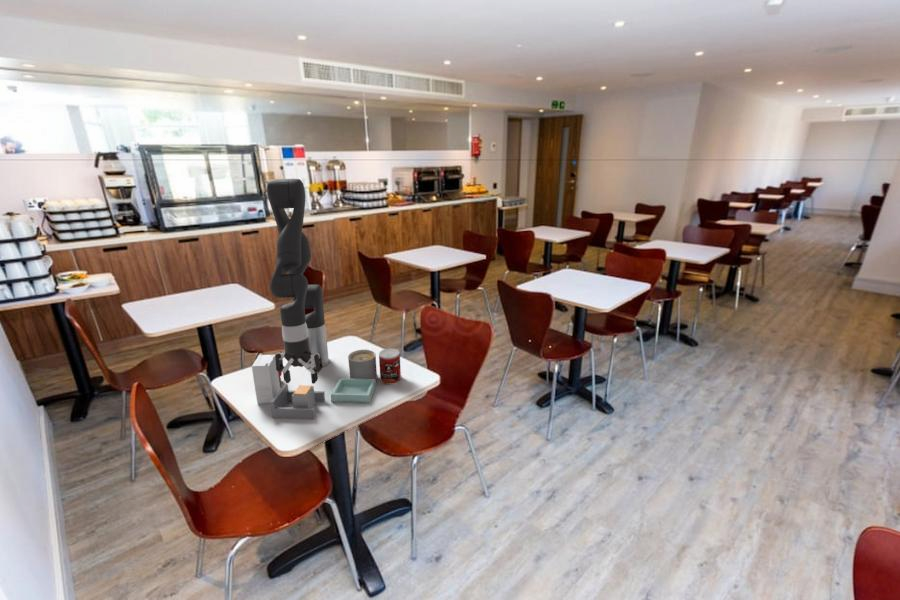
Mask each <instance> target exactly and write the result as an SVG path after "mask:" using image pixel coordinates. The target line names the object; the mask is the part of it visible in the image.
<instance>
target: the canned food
mask: <svg viewBox="0 0 900 600" xmlns="http://www.w3.org/2000/svg"><path fill="white" fill-rule="evenodd" d="M400 355H401V354H400V351H399V350H398V349H397V348H385V349H382V350H380V351H379V353H378V359H379V360H378V361H379V362H378V363H379V377H380V381H381V382H382V383H383V384H385V385H393V384H396V383H398V382H399V381H400V380H401V376H402V375H401V374H402V372H401V356H400Z"/></svg>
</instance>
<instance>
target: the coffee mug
mask: <svg viewBox="0 0 900 600" xmlns="http://www.w3.org/2000/svg"><path fill="white" fill-rule="evenodd" d="M347 358H348V370H349V378H352V379H375V381H377V380H378V372H377V371H378V370H377V359H376V358H377V356H376V352H375V351H374V350H370V349H357V350H354V351H352V352H350V353H349V354H348V357H347Z"/></svg>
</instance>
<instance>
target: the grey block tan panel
mask: <svg viewBox="0 0 900 600" xmlns="http://www.w3.org/2000/svg"><path fill="white" fill-rule="evenodd" d="M294 391H295V392H294V393H293V394H292V401H291V402H292V407H295V408H314V409H315V406H316V402H315V395H314V391H315V388H314V385H311V384H310V385H305V384H304V385H303V384H299V385H298V387H297V388H296V389H295V390H294Z"/></svg>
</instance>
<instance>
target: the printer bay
mask: <svg viewBox="0 0 900 600" xmlns="http://www.w3.org/2000/svg"><path fill="white" fill-rule="evenodd" d="M288 384H289V383H285V384H283V386H282V387H280V390H279V392H278V393H277V394H276V395H275V397H274V398H273V399H272V400H271V402H270V403H269V404H270V409H271V415H272V416H271V417H272V419H293V420H294V419H297V420H298V419H299V420H314V419H316V413H315V407H314V408H295V407H293V406H289V407H288V406H286V405H287V404H288V402H292V394H293V393H294V392H295V390H290V389H289V386H288ZM314 395H315V403H316V402H317V403H318V402H319V403H321V402H322V403H323V402H324V403H325V401H326V395H325V391H323V390H322V391H321V390H314Z"/></svg>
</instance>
